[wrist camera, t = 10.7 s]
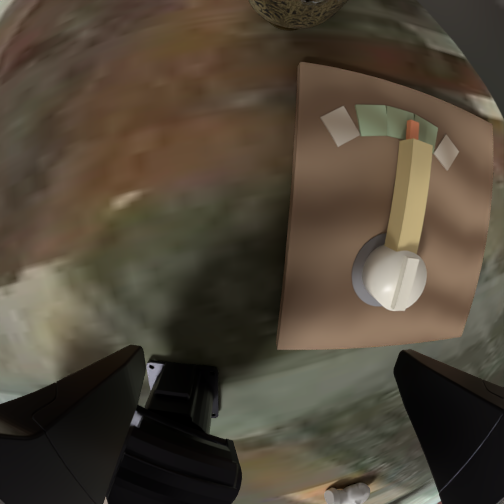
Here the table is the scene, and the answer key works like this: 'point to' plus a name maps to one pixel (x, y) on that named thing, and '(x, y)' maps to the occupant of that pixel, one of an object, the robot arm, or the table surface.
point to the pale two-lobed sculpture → (348, 494)
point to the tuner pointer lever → (403, 230)
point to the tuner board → (378, 211)
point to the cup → (296, 12)
